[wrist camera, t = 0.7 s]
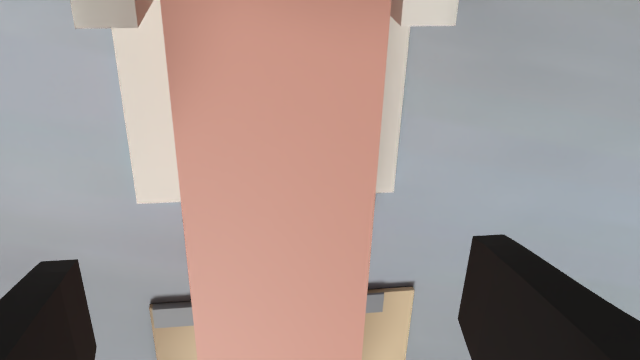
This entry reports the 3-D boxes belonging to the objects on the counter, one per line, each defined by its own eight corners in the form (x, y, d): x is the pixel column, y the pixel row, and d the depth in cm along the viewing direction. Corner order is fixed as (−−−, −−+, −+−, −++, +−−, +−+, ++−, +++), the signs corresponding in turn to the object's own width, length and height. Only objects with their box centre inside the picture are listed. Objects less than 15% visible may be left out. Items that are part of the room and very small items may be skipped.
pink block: (347, -68, 14) (397, -37, 10) (331, 284, 20) (359, 404, 15) (177, -70, 14) (152, -38, 9) (208, 292, 19) (201, 419, 15)
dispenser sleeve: (453, -432, 12) (532, -537, 8) (380, 306, 21) (406, 382, 18) (40, -473, 10) (-38, -609, 7) (155, 322, 20) (141, 406, 17)
